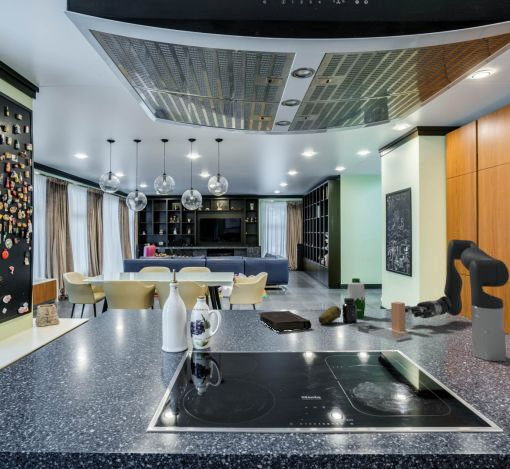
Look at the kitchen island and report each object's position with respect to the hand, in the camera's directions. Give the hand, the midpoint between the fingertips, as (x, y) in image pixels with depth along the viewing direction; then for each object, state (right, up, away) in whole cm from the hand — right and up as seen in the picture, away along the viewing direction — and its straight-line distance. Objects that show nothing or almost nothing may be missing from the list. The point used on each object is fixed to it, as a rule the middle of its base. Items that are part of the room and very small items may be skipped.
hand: (406, 313), depth 159 cm
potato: (-31, -9, +16) cm, 36 cm away
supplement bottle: (-21, -9, +16) cm, 28 cm away
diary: (-54, -10, +14) cm, 57 cm away
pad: (-5, -8, -3) cm, 9 cm away
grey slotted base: (-15, -8, -7) cm, 18 cm away
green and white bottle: (-14, -9, +29) cm, 34 cm away
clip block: (-5, -7, -3) cm, 9 cm away
